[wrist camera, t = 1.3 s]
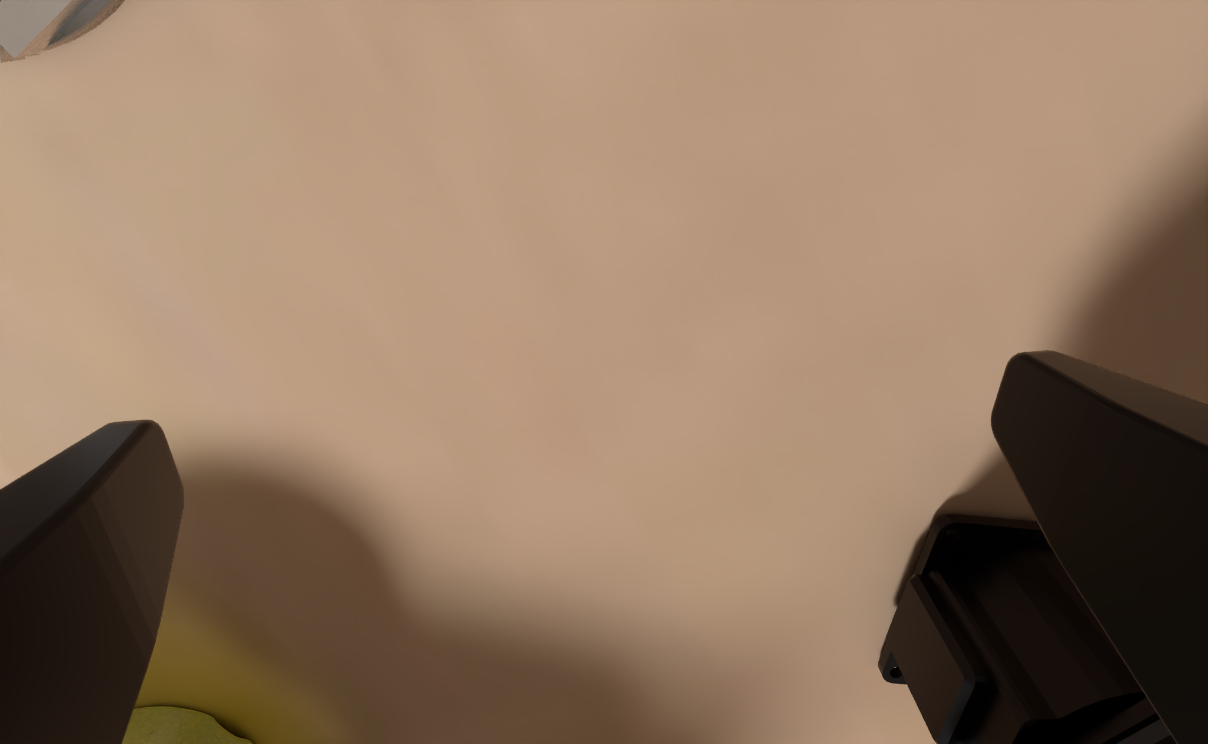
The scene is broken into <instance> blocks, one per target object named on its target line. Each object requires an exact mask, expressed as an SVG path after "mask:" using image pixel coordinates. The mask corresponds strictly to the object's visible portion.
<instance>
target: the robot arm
mask: <svg viewBox="0 0 1208 744" xmlns="http://www.w3.org/2000/svg"><path fill="white" fill-rule="evenodd" d="M991 427H992V431H993V434H994V437H995V439H996V441H997V443H998V445H999V447H1000V449H1001V451H1002V453H1003V455H1004V457H1005V459H1006V461H1007V463H1008V465H1009V467H1010V469H1011V471H1012V473H1013V475H1014V477H1015V479H1016V481H1017V483H1018V485H1019V487H1020V489H1021V491H1022V493H1023V495H1024V496H1025V498H1026V500H1027V502H1028V504H1029V506H1030V508H1031V510H1032V512H1033V514H1034V516H1035V518H1036V520H1037V522H1029V521H1019V520H1009V519H998V518H988V517H977V516H967V515H957V514H948V515H944V516H942V517H940V518H938V519H937V520H936V521H935V522H934V524H933V525H932V527H931V529H930V532H929V535H928V537H927V540H926V542H925V545H924V547H923V550H922V552H921V555H920V557H919V560H918V563H917V565H916V568H915V570H914V573H913V575H912V577H911V578H910V579H909V580H908V582H907V584H906V587H905V589H904V592H903V594H902V597H901V599H900V602H899V605H898V607H897V610H896V612H895V615H894V617H893V620H892V622H891V625H890V628H889V630H888V633H887V635H886V644H885V646H884V649H883V652H882V654H881V657H880V659H879V662H878V667H879V670H880V672H881V674H882V676H883V678H884V680H885V681H887V682H889V683H895V684H907V685H908V687H909V689H910V692H911V694H912V696H913V698H914V700H915V702H916V704H917V706H918V708H919V710H920V712H921V714H922V717H923V719H924V721H925V723H926V725H927V727H928V729H929V731H930V733H931V735H932V737H933V739H934V741H935V742H936V743H937V744H1208V405H1206V404H1204V403H1201V402H1198V401H1195V400H1192V399H1189V398H1187V397H1184V396H1181V395H1178V394H1175V393H1172V392H1170V391H1167V390H1164V389H1161V388H1158V387H1155V386H1152V385H1150V384H1147V383H1144V382H1141V381H1138V380H1135V379H1133V378H1130V377H1127V376H1124V375H1121V374H1118V373H1116V372H1113V371H1110V370H1107V369H1104V368H1101V367H1098V366H1096V365H1093V364H1090V363H1087V362H1084V361H1081V360H1079V359H1076V358H1073V357H1070V356H1067V355H1064V354H1062V353H1059V352H1055V351H1048V350H1045V351H1033V352H1022V353H1018V354H1016V355H1014V356H1013V357H1012V358H1011V359H1010V360H1009V361H1008V363H1007V366H1006V368H1005V372H1004V375H1003V378H1002V381H1001V384H1000V388H999V391H998V394H997V397H996V400H995V403H994V407H993V410H992V414H991ZM183 508H184V490H183V485H182V481H181V479H180V476H179V473H178V470H177V467H176V465H175V462H174V459H173V456H172V454H171V451H170V448H169V445H168V442H167V440H166V437H165V434H164V432H163V430H162V428H161V427H160V426H159V424H158V423H156V422H154V421H152V420H135V421H122V422H113V423H109V424H107V425H105V426H103V427H101V428H100V429H98V430H97V431H95V432H93V433H92V434H90V435H88V436H87V437H85V438H83V439H82V440H80V441H79V442H77V443H75V444H74V445H72V446H70V447H69V448H67V449H66V450H64V451H62V452H61V453H59V454H57V455H56V456H54V457H52V458H51V459H49V460H48V461H46V462H44V463H43V464H41V465H39V466H38V467H36V468H35V469H33V470H31V471H30V472H28V473H26V474H25V475H23V476H21V477H20V478H18V479H17V480H15V481H13V482H12V483H10V484H8V485H7V486H5V487H4V488H2V489H0V744H122V742H123V739H124V736H125V733H126V730H127V727H128V724H129V721H130V718H131V715H132V712H133V709H134V706H135V703H136V700H137V697H138V694H139V691H140V689H141V686H142V683H143V680H144V677H145V674H146V671H147V668H148V665H149V661H150V658H151V655H152V652H153V648H154V645H155V642H156V637H157V633H158V629H159V625H160V621H161V616H162V611H163V606H164V601H165V596H166V591H167V586H168V582H169V577H170V572H171V567H172V562H173V557H174V552H175V547H176V542H177V538H178V533H179V528H180V523H181V518H182V513H183ZM952 529H955V530H954V532H952V533H950V534H947V535H946V533H947V532H948V531H950V530H952ZM894 667H896V668H894Z"/></svg>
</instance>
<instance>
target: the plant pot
mask: <svg viewBox="0 0 1208 744" xmlns="http://www.w3.org/2000/svg"><path fill="white" fill-rule="evenodd" d="M122 744H253V743H252V742H251V741H249V740H248V739H242V738H238V737H236V736H234V735H232V734H231V733H229V732H228V731H227V730H225V729H224V728H223V727H221V726H220V725H219V724H218V723H217V721H216V720H215V719H214V718H213V717H212V716H210V715H208V714H205V713H202V712H198V711H195V710H190V709H185V708H178V707H171V706H155V707H142V708H136V709H133V712H132V715H131V718H130V721H129V724H128V727H127V730H126V733H125V736H124V739H123V742H122Z"/></svg>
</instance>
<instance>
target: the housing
mask: <svg viewBox="0 0 1208 744" xmlns="http://www.w3.org/2000/svg"><path fill="white" fill-rule="evenodd" d="M124 1H125V0H0V63H2V62H8V61H14V60H20V59H25V57H28V56H34V55H38V54H39V53H40V52H41V51H43V50H48V49H52V48H54V47H57V46H60V45H62V44H65V43H68V42H70V41H73V40H75V39H77V38H79V37H80V36H82V35H84V34H85V33H87V32H89V31H91V30H92V29H94V28H96V27H97V26H98V25H99V24H101V23H102V22H103V21H104V20H105V19H107V18H108V17H109V16H110V15H111V14H113V13H114V12H115V11H116V10H117V9H118V8H119V6H120V5H121V4H122V3H123V2H124Z"/></svg>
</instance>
